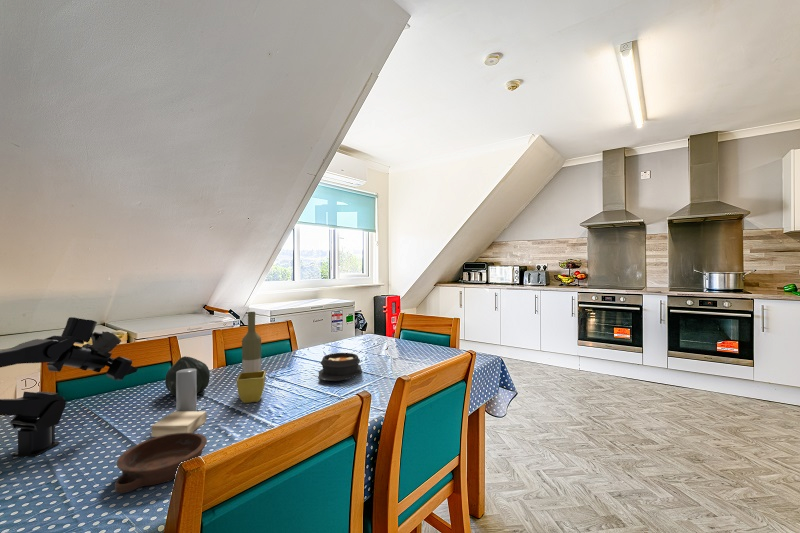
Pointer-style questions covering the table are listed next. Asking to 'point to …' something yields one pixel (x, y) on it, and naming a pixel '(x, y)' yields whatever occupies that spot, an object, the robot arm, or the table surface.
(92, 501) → the table surface
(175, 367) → the squash
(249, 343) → the bottle
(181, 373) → the tumbler
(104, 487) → the table surface
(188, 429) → the base block
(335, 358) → the casserole
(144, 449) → the dish
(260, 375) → the flower pot
